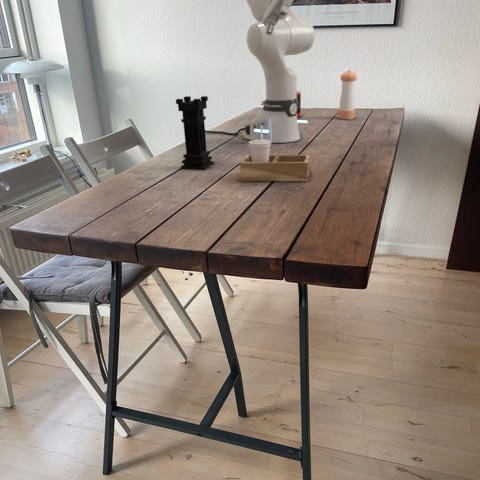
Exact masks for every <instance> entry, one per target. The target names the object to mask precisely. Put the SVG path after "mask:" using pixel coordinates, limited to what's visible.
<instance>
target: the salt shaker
mask: <svg viewBox="0 0 480 480" xmlns="http://www.w3.org/2000/svg"><path fill="white" fill-rule="evenodd" d="M357 80H358V75H357V73H355V72H352V70H350V69H349V70H347V72H344V73H342V74H341V75H340V81H341V93H340V97H339V109H338V115H337V118H338V120H353V119H355V118H356V117H355V116H356V109H355V107H356V106H355V105H356V95H355V89H356V88H355V86H356V81H357Z"/></svg>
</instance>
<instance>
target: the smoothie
mask: <svg viewBox="0 0 480 480" xmlns="http://www.w3.org/2000/svg"><path fill="white" fill-rule="evenodd" d="M260 130H261V140H249V141H248V147H249V151H250V155H251V158H252V162H269V155H270V151H271V146H272V143H271V141H270V140H263V130H262V125H260Z"/></svg>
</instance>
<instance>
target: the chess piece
mask: <svg viewBox="0 0 480 480" xmlns="http://www.w3.org/2000/svg"><path fill="white" fill-rule="evenodd" d="M208 101H209V98H208V95H203V96H200V98H194V99H192V96H191V95H188V96H187V95H186V96H183V98H177V99H175V105H177V108H178V112H182V118H181V123H183V130H184V131H183V134H184V142H185V153H184V154H183V155H182V157H183V160H181V164H182V165H181V166H180V169H181V170H195V171H197V170H198V171H199V170H200V171H205V170H207V169H208V168H209V167H211V166H213V165H215V160H213V156H212V155H211V151H210V150H207V139H206V138H207V137H206V132H205V130H206V125H205V124H206V123H205V121H206V120H207V117H206V116H205V112H204V110H206V109H207V108H208V107H207V102H208Z"/></svg>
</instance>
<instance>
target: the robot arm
mask: <svg viewBox="0 0 480 480" xmlns="http://www.w3.org/2000/svg"><path fill="white" fill-rule="evenodd" d="M301 1H302V0H246V3H247V5H248V7H249V9H250V12H251V13H252V17H253V18H254V19H255V21H257V22H255V23H252V24H251V25H250V27H249V28H248V30H247V32H246V33H247V34H246V45H247V48H248V51H249V52H250V54H252V55H253V56H254V57H255V59H257V61H258V63H259V64H260V66H261V68H262V71H263V74H264V80H265V81H264V82H265V100H262V101H261V103H260V105H261V106H262V110H261V111H260V112H259V113H258V115H257V116H255V117H254V118H253V119H252V120H251V122H250V124H247V125H245V126H244V127H242V128H239V129H238V130H237V131H236V132H227V131H218V130H216V131H215V130H207V129H205V134H222V135H227V136H237V135H239V133H240V132H242V131H245V134H244V135H243V138H244V139H246V140H249V141H252V140H261V130H260V125H262V130H263V140H270V141H271V144H282V143H283V144H285V143H293V142H296V141H299V140H301V135H300V131H299V130H300V129H299V123H304V124H308V120H303V119H302V120H301V119H298V118H297V109H298V99H297V91H298V90H297V89H298V87H297V86H298V85H297V84H298V77H297V74H296V72H295V71H294V70H293V69H291V68H290V67H288V65H287V63H286V58H285V56H286V57H287V56H295V55H296V56H297V55H300V54H303V53H306V52H308V51H309V50H311V49H312V47H313V45H314V42H315V38H316V37H315V35H316V34H315V29H314V25H313V24H312V23H311V21H309V20H307V19H305V18H303V17H301V16H300V15H299V14H297V13H296V12H295V11H294V10H293V9H292V8H291V6H292V5H296V4H298V3H300V2H301Z"/></svg>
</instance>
